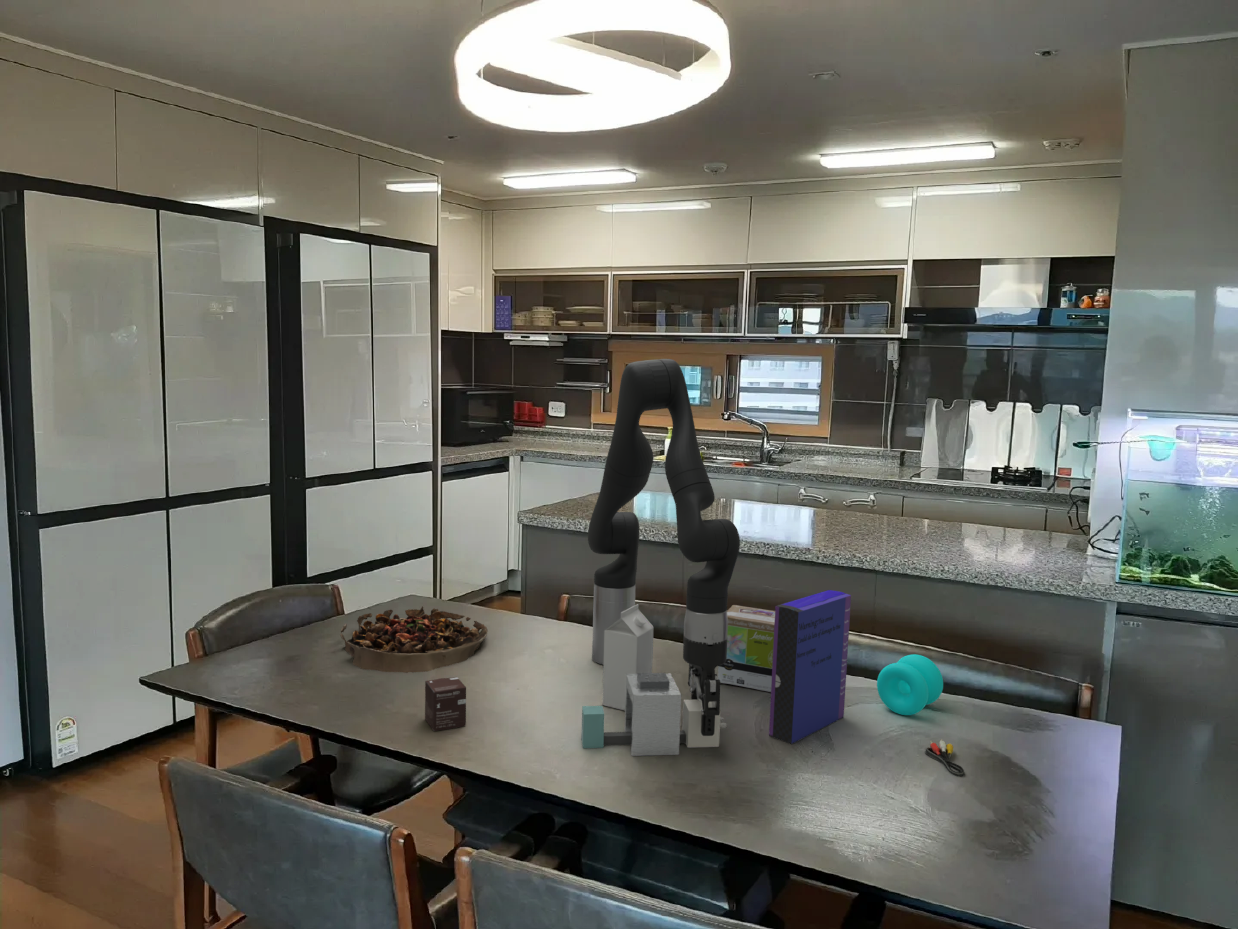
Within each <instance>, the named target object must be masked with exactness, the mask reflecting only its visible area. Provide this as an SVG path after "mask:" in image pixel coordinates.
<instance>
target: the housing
mask: <svg viewBox="0 0 1238 929" xmlns="http://www.w3.org/2000/svg"><path fill="white" fill-rule="evenodd" d="M681 709H682V693H681V691H680V690H679V687H678V686H677V682H676V681H675V679H674V677H673V676H672V673H671V672H668V673H666V672H652V673H637V674H626V699H625V710H624V729H623V730H624V731H623V732H632V736H631V745H630V754H631V756H632V757H638V756H641V757H642V756H645V757H646V756H674V755H675V756H678V755H680V743H679V739H680V730H681V712H682V710H681Z"/></svg>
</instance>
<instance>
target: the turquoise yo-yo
mask: <svg viewBox="0 0 1238 929" xmlns="http://www.w3.org/2000/svg"><path fill="white" fill-rule="evenodd" d="M876 689H877V693H878V696H879V698H880V700H881V702H882V703H883V704H884V705H885V706H886V708H888V709H889V710H890V711H892V712H893V713H895V714H897V715H898V714H899V715H902V716H912V715H916V714H918V713H919V712H921V711H923V709H924V708H925V707H926V706H929V705H931V704H933V703H935V702H936V701H938V699H939V698H940V697H941V695H942V693H943V690H944V679H943V675H942V673H941V670H940V669H939V667H938V666H937V665H936V664H935V663H934V661H933V660H931V659H930V658H929V657H926V656H923V655H921V654H915V653H913V654H908V655H905V656H902V657H901V658H899V660H897V662H893V663H890V664H888V665H886V666H884V667H883V668H882V669H881V670H880V672H879V674H878V676H877V680H876Z"/></svg>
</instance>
